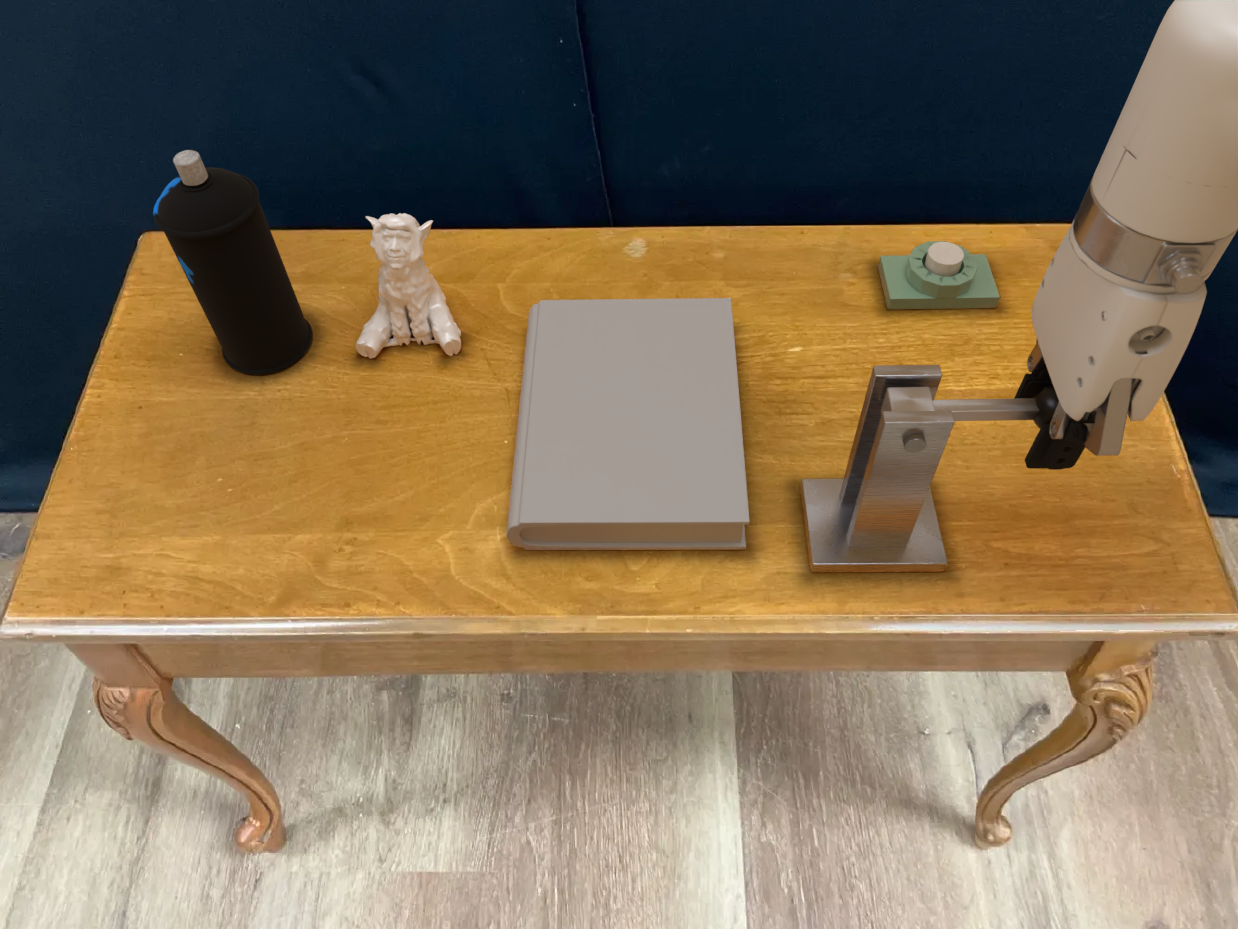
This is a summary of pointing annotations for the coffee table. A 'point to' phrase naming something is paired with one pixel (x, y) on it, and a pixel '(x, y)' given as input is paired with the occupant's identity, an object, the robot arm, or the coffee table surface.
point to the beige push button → (944, 259)
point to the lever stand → (882, 487)
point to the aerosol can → (233, 266)
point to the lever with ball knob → (976, 405)
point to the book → (629, 428)
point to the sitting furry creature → (406, 291)
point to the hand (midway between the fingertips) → (1040, 437)
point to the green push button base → (936, 282)
